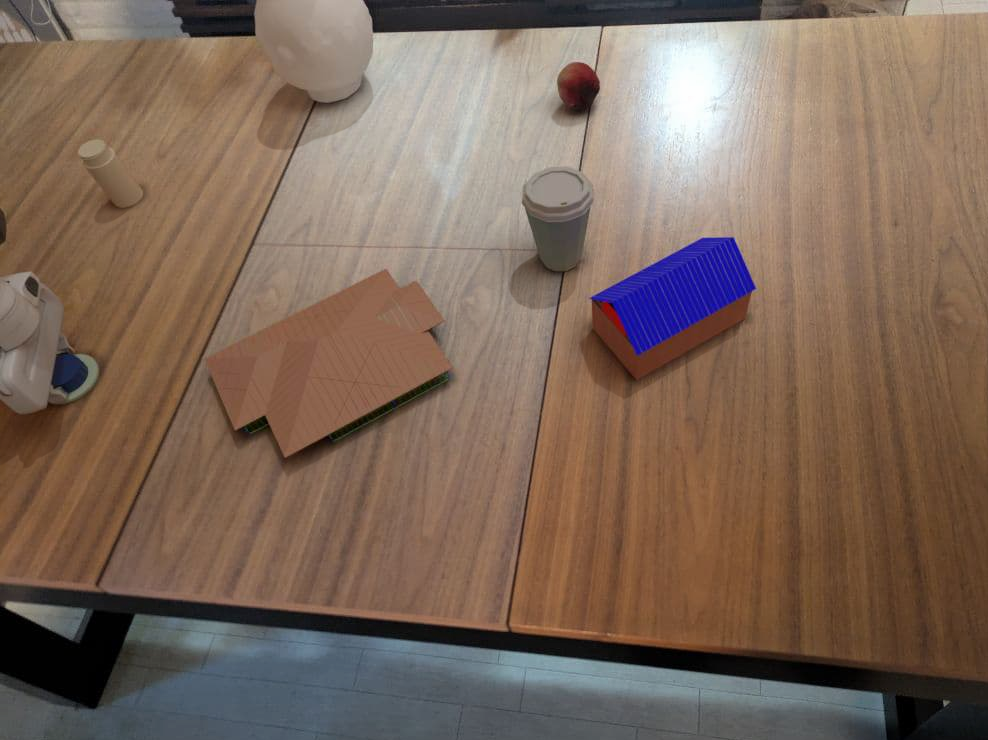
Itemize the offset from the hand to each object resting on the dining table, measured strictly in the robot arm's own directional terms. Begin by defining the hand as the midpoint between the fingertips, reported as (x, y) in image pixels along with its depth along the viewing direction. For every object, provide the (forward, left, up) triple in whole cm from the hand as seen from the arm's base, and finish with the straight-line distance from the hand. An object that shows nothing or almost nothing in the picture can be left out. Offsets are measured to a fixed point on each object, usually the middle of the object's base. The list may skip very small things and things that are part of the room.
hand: (66, 376), depth 108 cm
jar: (+9, +40, -1) cm, 41 cm away
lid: (0, 0, +2) cm, 2 cm away
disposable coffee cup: (+79, -5, -1) cm, 79 cm away
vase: (+51, +56, -1) cm, 76 cm away
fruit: (+94, +30, -1) cm, 99 cm away
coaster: (0, 0, -1) cm, 1 cm away
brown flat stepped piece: (+41, -14, -1) cm, 43 cm away
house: (+89, -23, -1) cm, 92 cm away
